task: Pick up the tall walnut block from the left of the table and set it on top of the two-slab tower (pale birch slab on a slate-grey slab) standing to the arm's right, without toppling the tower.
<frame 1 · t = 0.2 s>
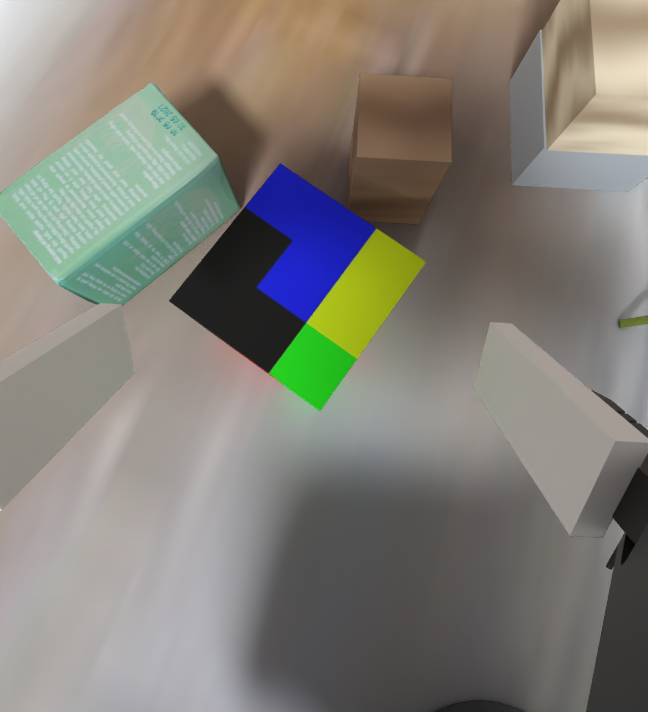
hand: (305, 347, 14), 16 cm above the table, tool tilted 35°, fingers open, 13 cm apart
box: (152, 232, 32), on the table
walnut block: (383, 189, 32), on the table
puzzle toy: (305, 323, 31), on the table
tower slab lower: (565, 138, 34), on the table, touching tower slab upper
tower slab upper: (609, 93, 29), point 5 cm above the table, touching tower slab lower
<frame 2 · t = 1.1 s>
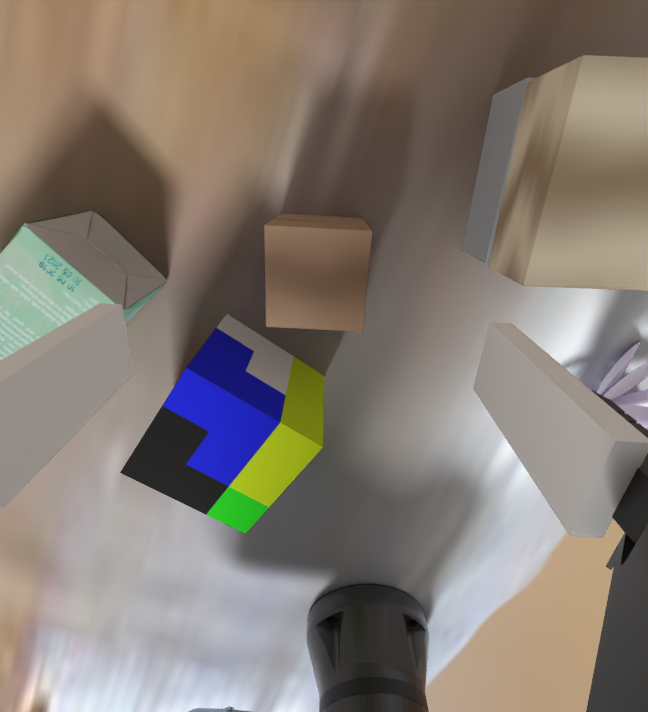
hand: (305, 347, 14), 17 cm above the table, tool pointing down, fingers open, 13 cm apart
box: (85, 300, 32), on the table
walnut block: (319, 256, 30), on the table
puzzle toy: (248, 385, 35), on the table
water lily: (580, 396, 35), on the table
tower slab lower: (544, 182, 27), on the table, touching tower slab upper
tower slab upper: (588, 186, 23), point 5 cm above the table, touching tower slab lower
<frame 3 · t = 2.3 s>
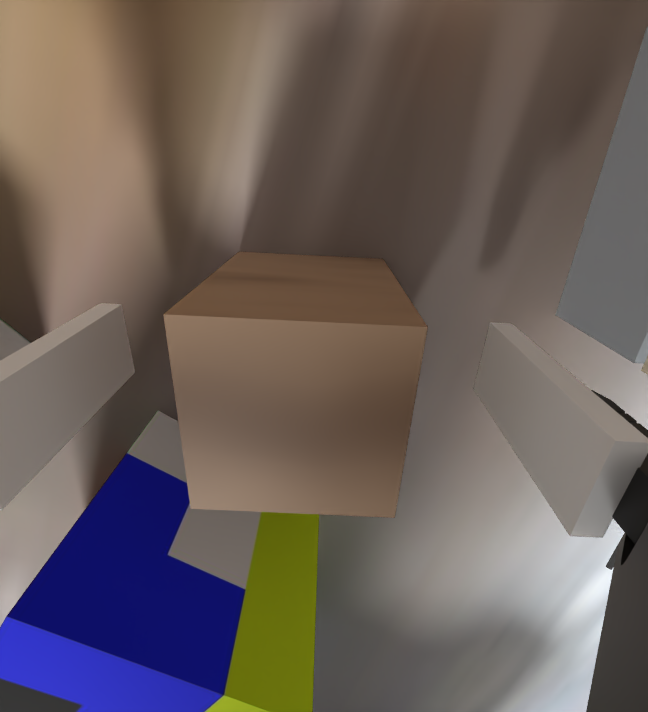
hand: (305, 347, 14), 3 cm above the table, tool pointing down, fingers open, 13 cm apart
walnut block: (309, 322, 17), on the table
puzzle toy: (201, 507, 22), on the table
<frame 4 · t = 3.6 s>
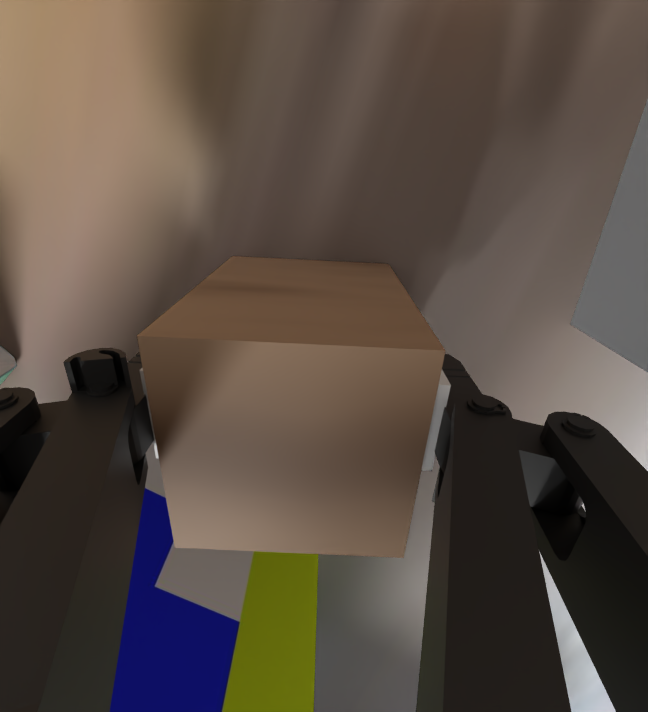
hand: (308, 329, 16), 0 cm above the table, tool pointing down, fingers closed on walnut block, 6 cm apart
walnut block: (308, 332, 16), on the table, touching gripper
puzzle toy: (195, 523, 21), on the table
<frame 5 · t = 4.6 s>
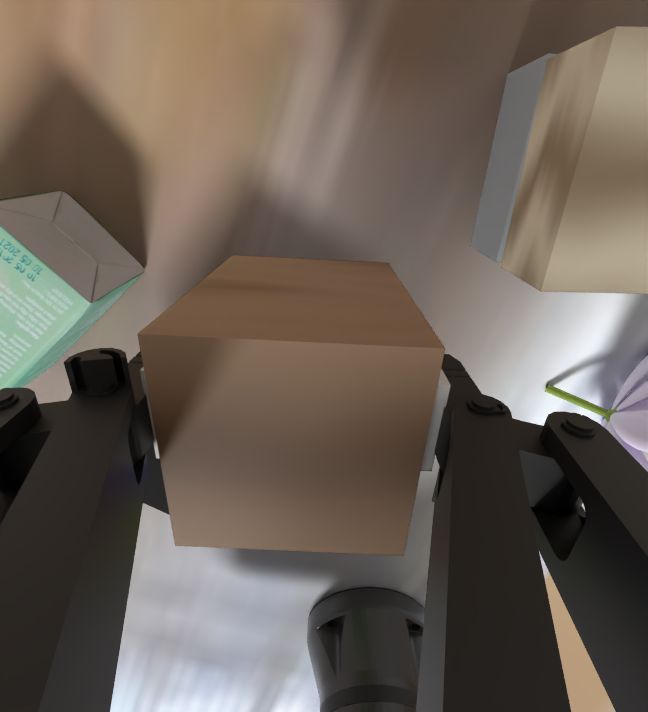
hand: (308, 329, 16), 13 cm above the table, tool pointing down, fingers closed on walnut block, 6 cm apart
box: (56, 289, 29), on the table
walnut block: (308, 331, 16), point 13 cm above the table, touching gripper
puzzle toy: (244, 388, 33), on the table
water lily: (598, 397, 33), on the table
tower slab lower: (561, 172, 25), on the table, touching tower slab upper
tower slab upper: (614, 175, 21), point 5 cm above the table, touching tower slab lower
when the fingers open (11 cm above the table, at t = 7.7 s): walnut block drops 1 cm, point 10 cm above the table.
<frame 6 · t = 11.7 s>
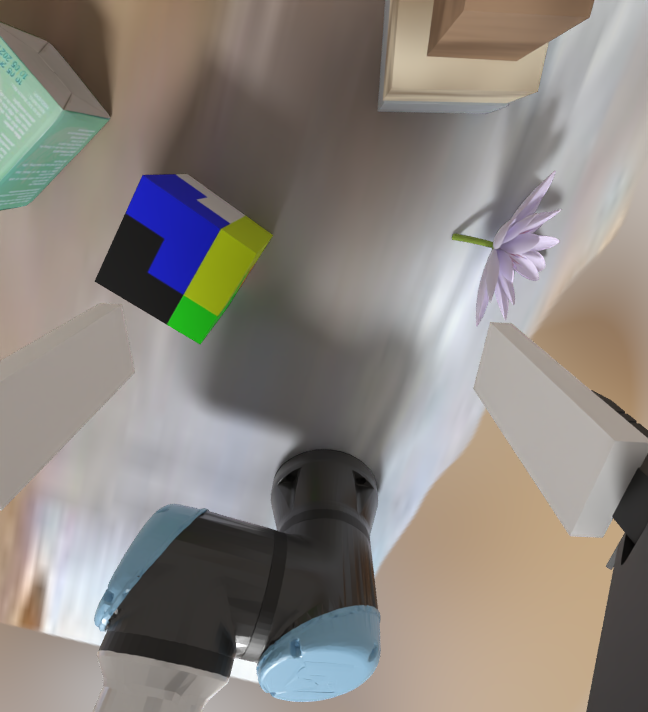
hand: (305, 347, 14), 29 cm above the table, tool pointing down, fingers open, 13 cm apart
box: (38, 132, 36), on the table
puzzle toy: (209, 246, 41), on the table
water lily: (496, 248, 40), on the table
tower slab lower: (439, 44, 33), on the table
tower slab upper: (455, 22, 28), point 5 cm above the table
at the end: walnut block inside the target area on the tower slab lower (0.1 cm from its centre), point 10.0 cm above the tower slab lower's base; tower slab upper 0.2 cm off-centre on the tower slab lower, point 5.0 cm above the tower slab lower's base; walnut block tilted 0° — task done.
